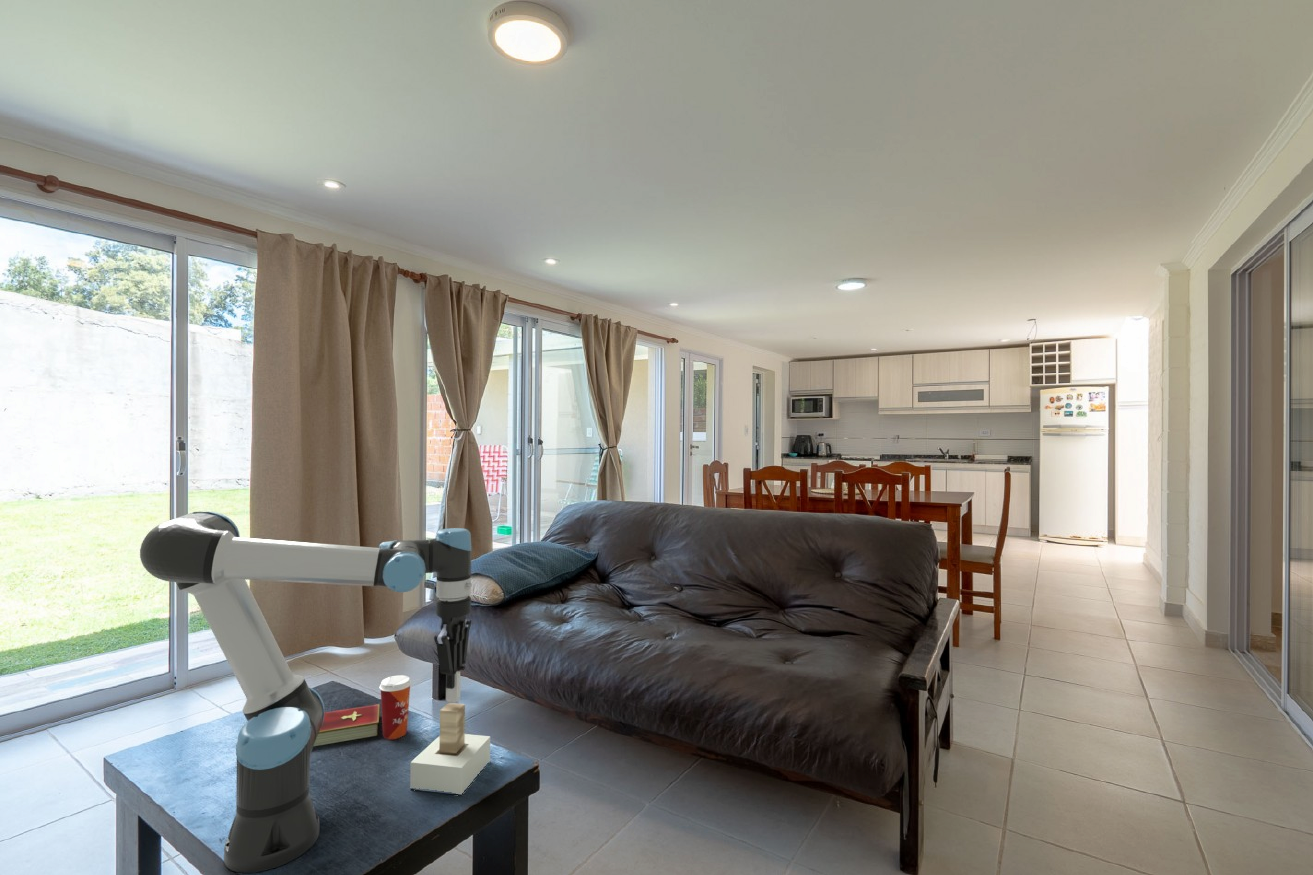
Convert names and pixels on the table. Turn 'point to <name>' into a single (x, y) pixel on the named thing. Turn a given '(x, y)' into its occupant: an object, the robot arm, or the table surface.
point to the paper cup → (395, 705)
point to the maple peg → (452, 729)
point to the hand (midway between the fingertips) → (453, 700)
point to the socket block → (450, 765)
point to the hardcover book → (349, 724)
